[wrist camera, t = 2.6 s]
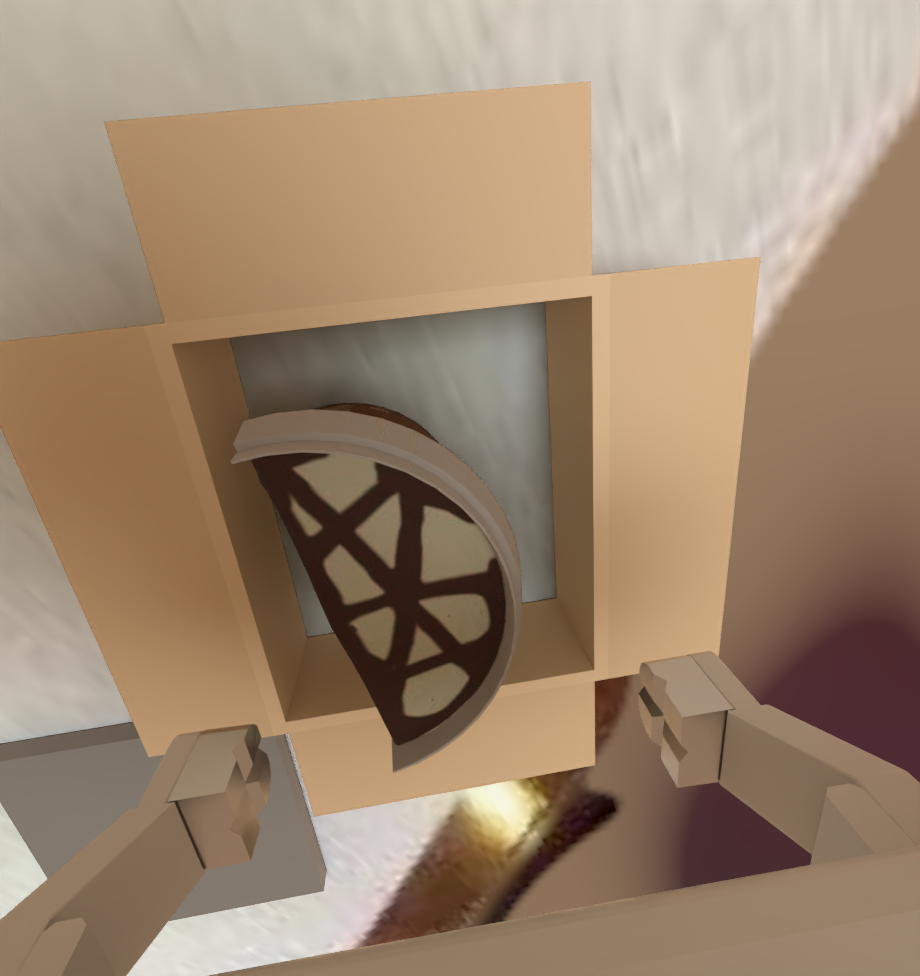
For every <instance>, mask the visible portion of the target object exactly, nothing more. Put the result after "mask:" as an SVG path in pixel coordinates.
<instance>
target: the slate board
mask: <svg viewBox="0 0 920 976" xmlns="http://www.w3.org/2000/svg"><path fill="white" fill-rule="evenodd" d="M258 748H259V749H261V750H262V751H264V752H265V753H267V756H268V759H269V762H270V769H271V784H270V793H269V797H268V800H267V804H266V805H265V807H264V808H263V809H262V810H261V811H260V812H259V813H258V814H257V817H258V820H259V823H260V830H259V834H258V837H257V841H256V844H255V848H254V852H253V855H252V859H251V861H248V862H243V863H238V864H234V865H229V866H224V867H219V868H214V869H209V870H204V871H205V874H204V875H203V876H202V878H201V879H200V880H199V882H198V883H197V884H196V886H195V887H194V888H193V889H192V891H191V892H190V893H189V895H188V896H187V897H186V899H185V900H184V901H183V902H182V904H181V905H180V906H179V908H178V909H177V910H176V911H175V913H174V914H173V915H172V917H171V918H170V919H169V921H172V920H177V919H182V918H187V917H192V916H197V915H203V914H208V913H213V912H218V911H223V910H228V909H233V908H239V907H244V906H249V905H254V904H259V903H264V902H269V901H275V900H280V899H285V898H290V897H295V896H300V895H306V894H311V893H316V892H321V891H324V885H325V877H326V868H325V864H324V861H323V858H322V855H321V851H320V848H319V845H318V842H317V838H316V835H315V832H314V829H313V825H312V822H311V819H310V815H309V812H308V809H307V806H306V802H305V799H304V796H303V793H302V789H301V786H300V783H299V780H298V776H297V773H296V770H295V767H294V763H293V760H292V757H291V754H290V750H289V747H288V744H287V741H286V737H285V734H282V735H276V736H270V737H264V738H261V741H260V744H259V747H258ZM163 757H164V755H159V756H153V757H148V754H147V752H146V750H145V748H144V745H143V743H142V741H141V739H140V737H139V734H138V732H137V730H136V728H135V725H134V723H133V722H132V723H126V724H120V725H114V726H108V727H102V728H96V729H90V730H84V731H78V732H72V733H66V734H60V735H54V736H47V737H41V738H35V739H29V740H23V741H17V742H11V743H5V744H0V803H1V804H2V806H3V807H4V809H5V811H6V812H7V814H8V815H9V817H10V819H11V820H12V822H13V823H14V825H15V827H16V828H17V830H18V832H19V833H20V835H21V836H22V838H23V840H24V841H25V843H26V844H27V846H28V848H29V849H30V851H31V852H32V854H33V856H34V857H35V859H36V860H37V862H38V864H39V865H40V867H41V868H42V870H43V872H44V873H45V875H46V876H47V878H50V877H51V876H52V875H53V874H54V873H55V872H57V871H58V870H59V869H60V868H61V867H62V866H64V865H65V864H66V863H67V862H68V861H69V860H70V859H72V858H73V857H74V856H75V855H76V854H77V853H79V852H80V851H81V850H82V849H83V848H84V847H86V846H87V845H88V844H89V843H90V842H91V841H92V840H94V839H95V838H96V837H97V836H98V835H99V834H101V833H102V832H103V831H104V830H105V829H106V828H108V827H109V826H110V825H111V824H112V823H113V822H115V821H116V820H117V819H118V818H119V817H120V816H121V815H123V814H124V813H125V812H126V811H127V810H129V809H134V808H137V806H138V804H139V802H140V800H141V798H142V797H143V795H144V793H145V791H146V789H147V787H148V785H149V783H150V781H151V780H152V778H153V776H154V774H155V772H156V770H157V768H158V766H159V764H160V763H161V761H162V759H163Z"/></svg>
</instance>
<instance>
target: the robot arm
mask: <svg viewBox="0 0 920 976" xmlns="http://www.w3.org/2000/svg"><path fill="white" fill-rule="evenodd" d="M639 678H640V680H641V681H642V683H643V684H644V688H643V689H642V690H641V692H640V693H639V710H640V714H641V719H642V722H643V725H644V727H645V730H646V732H647V734H648V736H649V737H650V739H651V741H653V742H655V743H656V744H658V745H659V746H661V747H662V754H661V759H662V761H663V763H664V765H665V766H666V768H667V770H668V771H669V773H670V775H671V777H672V779H673V781H674V782H675V784H676V786H677V787H678V788H679V787H685V786H692V785H700V784H707V783H714V782H720V785H722V786H723V787H724V788H726V789H727V790H728V791H729V792H731V793H732V794H734V795H735V796H736V797H737V798H738V799H740V800H741V801H743V802H744V803H745V804H746V805H748V806H749V807H751V808H752V809H753V810H754V811H756V812H757V813H758V814H759V815H761V816H762V817H763V818H765V819H766V820H767V821H769V822H770V823H771V824H773V825H774V826H775V827H776V828H778V829H779V830H781V831H782V832H783V833H784V834H786V835H787V836H788V837H790V838H791V839H792V840H793V841H795V842H796V843H797V844H799V845H800V846H801V847H803V848H804V849H805V850H807V851H808V852H809V853H811V854H812V860H811V864H810V865H808V866H802V867H797V868H792V869H787V870H781V871H776V872H770V873H764V874H759V875H753V876H748V877H742V878H737V879H732V880H726V881H721V882H715V883H710V884H705V885H699V886H693V887H688V888H683V889H678V890H672V891H667V892H661V893H656V894H651V895H645V896H639V897H634V898H629V899H624V900H618V901H612V902H607V903H602V904H597V905H591V906H585V907H580V908H575V909H570V910H564V911H559V912H553V913H548V914H542V915H538V916H532V917H526V918H521V919H515V920H510V921H504V922H499V923H493V924H488V925H482V926H477V927H471V928H466V929H460V930H455V931H449V932H444V933H438V934H433V935H427V936H422V937H416V938H411V939H405V940H400V941H394V942H389V943H383V944H378V945H372V946H367V947H362V948H356V949H351V950H345V951H340V952H334V953H329V954H323V955H318V956H313V957H307V958H302V959H296V960H291V961H285V962H280V963H274V964H269V965H263V966H258V967H253V968H247V969H242V970H236V971H231V972H225V973H220V974H214V975H209V976H920V783H919V782H918V781H917V780H915V779H914V778H913V777H912V776H911V775H910V774H909V773H908V772H907V771H905V770H903V769H901V768H898V767H897V766H894V765H892V764H890V763H888V762H886V761H884V760H882V759H880V758H878V757H876V756H874V755H872V754H870V753H867V752H865V751H863V750H861V749H859V748H857V747H855V746H853V745H851V744H849V743H847V742H845V741H842V740H840V739H838V738H836V737H834V736H832V735H830V734H828V733H826V732H824V731H822V730H820V729H818V728H816V727H813V726H811V725H809V724H807V723H805V722H803V721H801V720H799V719H797V718H795V717H793V716H791V715H788V714H786V713H784V712H782V711H780V710H778V709H776V708H774V707H772V706H770V705H762V706H761V705H760V704H759V703H758V702H757V701H756V699H755V698H754V697H753V696H752V695H751V694H750V693H749V692H748V690H747V689H746V688H745V687H744V686H743V685H742V684H741V682H740V681H739V680H738V679H737V678H736V677H735V676H734V674H733V673H732V672H731V671H730V670H729V669H728V668H727V667H726V665H725V664H724V663H723V662H722V661H721V660H720V659H719V657H718V656H717V655H716V654H715V653H713V652H711V651H705V652H699V653H694V654H688V655H683V656H677V657H671V658H665V659H659V660H653V661H647V662H642V663H641V666H640V670H639ZM261 738H262V737H261V734H260V732H259V729H258V727H257V725H255V724H247V725H239V726H232V727H224V728H217V729H209V730H204V731H199V732H191V733H183V734H179V735H178V736H176V737H175V738H174V739H173V740H172V742H171V744H170V746H169V747H168V749H167V751H166V753H165V755H164V757H163V759H162V761H161V763H160V764H159V766H158V768H157V770H156V772H155V774H154V776H153V778H152V780H151V781H150V783H149V785H148V787H147V789H146V791H145V793H144V795H143V797H142V798H141V800H140V802H139V804H138V806H137V808H134V809H129V810H127V811H126V812H125V813H124V814H123V815H121V816H120V817H119V818H118V819H117V820H116V821H115V822H113V823H112V824H111V825H110V826H109V827H108V828H106V829H105V830H104V831H103V832H102V833H101V834H99V835H98V836H97V837H96V838H95V839H94V840H92V841H91V842H90V843H89V844H88V845H87V846H86V847H84V848H83V849H82V850H81V851H80V852H79V853H77V854H76V855H75V856H74V857H73V858H72V859H70V860H69V861H68V862H67V863H66V864H65V865H64V866H62V867H61V868H60V869H59V870H58V871H57V872H55V873H54V874H53V875H52V876H51V877H50V878H48V879H47V880H46V881H45V882H44V883H43V884H41V885H40V886H39V887H38V888H37V889H36V890H35V891H33V892H32V893H31V894H30V895H29V896H28V897H26V898H25V899H24V900H23V901H22V902H21V903H19V904H18V905H17V906H16V907H15V908H14V909H13V910H11V911H10V912H9V913H8V914H7V915H6V916H4V917H3V918H2V919H1V920H0V976H126V975H127V974H128V973H129V971H130V970H131V969H132V967H133V966H134V965H135V963H136V962H137V961H138V960H139V958H140V957H141V956H142V954H143V953H144V952H145V950H146V949H147V948H148V947H149V945H150V944H151V943H152V941H153V940H154V939H155V937H156V936H157V935H158V934H159V932H160V931H161V930H162V928H163V927H164V926H165V924H166V923H167V922H168V921H169V919H170V918H171V917H172V915H173V914H174V913H175V911H176V910H177V909H178V908H179V906H180V905H181V904H182V902H183V901H184V900H185V899H186V897H187V896H188V895H189V893H190V892H191V891H192V889H193V888H194V887H195V886H196V884H197V883H198V882H199V880H200V879H201V878H202V876H203V875H204V874H205V871H204V870H209V869H214V868H219V867H224V866H229V865H234V864H238V863H243V862H248V861H251V859H252V855H253V852H254V848H255V844H256V841H257V837H258V834H259V830H260V823H259V820H258V817H257V814H258V813H259V812H260V811H261V810H262V809H263V808H264V807H265V805H266V804H267V800H268V797H269V793H270V784H271V769H270V762H269V759H268V756H267V753H265V752H264V751H262V750H261V749H259V748H258V747H259V744H260V741H261Z"/></svg>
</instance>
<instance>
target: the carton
mask: <svg viewBox="0 0 920 976" xmlns="http://www.w3.org/2000/svg"><path fill="white" fill-rule="evenodd" d="M104 123H105V126H106V130H107V133H108V136H109V139H110V143H111V146H112V149H113V153H114V156H115V159H116V163H117V166H118V169H119V173H120V176H121V179H122V182H123V186H124V189H125V192H126V196H127V199H128V202H129V206H130V209H131V212H132V216H133V219H134V222H135V225H136V229H137V232H138V235H139V239H140V242H141V245H142V249H143V252H144V255H145V259H146V262H147V265H148V268H149V272H150V275H151V278H152V282H153V285H154V288H155V292H156V295H157V298H158V302H159V305H160V308H161V311H162V315H163V318H164V321H165V323H159V324H152V325H143V326H134V327H125V328H116V329H107V330H98V331H89V332H80V333H71V334H62V335H53V336H44V337H35V338H26V339H17V340H8V341H0V427H1V429H2V431H3V433H4V435H5V438H6V440H7V442H8V444H9V447H10V449H11V451H12V453H13V456H14V458H15V460H16V462H17V464H18V467H19V469H20V471H21V473H22V476H23V478H24V480H25V482H26V485H27V487H28V489H29V491H30V493H31V496H32V498H33V500H34V502H35V505H36V507H37V509H38V511H39V513H40V516H41V518H42V520H43V522H44V525H45V527H46V529H47V531H48V534H49V536H50V538H51V540H52V542H53V545H54V547H55V549H56V551H57V554H58V556H59V558H60V560H61V563H62V565H63V567H64V569H65V571H66V574H67V576H68V578H69V580H70V583H71V585H72V587H73V589H74V592H75V594H76V596H77V598H78V600H79V603H80V605H81V607H82V609H83V612H84V614H85V616H86V618H87V621H88V623H89V625H90V627H91V629H92V632H93V634H94V636H95V638H96V641H97V643H98V645H99V647H100V650H101V652H102V654H103V656H104V658H105V661H106V663H107V665H108V667H109V670H110V672H111V674H112V676H113V679H114V681H115V683H116V685H117V687H118V690H119V692H120V694H121V696H122V699H123V701H124V703H125V705H126V708H127V710H128V712H129V714H130V716H131V719H132V721H133V723H134V725H135V728H136V730H137V732H138V734H139V737H140V739H141V741H142V743H143V745H144V748H145V750H146V752H147V754H148V757H153V756H159V755H165V753H166V751H167V749H168V747H169V746H170V744H171V742H172V740H173V739H174V738H175V737H176V736H178V735H179V734H183V733H191V732H199V731H204V730H209V729H217V728H224V727H232V726H239V725H247V724H255V725H257V727H258V729H259V732H260V734H261V737H262V738H264V737H270V736H276V735H282V734H288V733H289V735H290V738H291V741H292V745H293V748H294V751H295V755H296V758H297V761H298V765H299V768H300V771H301V775H302V778H303V781H304V784H305V788H306V791H307V794H308V798H309V801H310V804H311V808H312V811H313V814H314V817H315V816H320V815H326V814H331V813H336V812H342V811H347V810H353V809H358V808H364V807H369V806H375V805H380V804H386V803H391V802H396V801H402V800H407V799H413V798H418V797H424V796H429V795H435V794H440V793H446V792H451V791H456V790H462V789H467V788H473V787H478V786H484V785H489V784H495V783H500V782H506V781H511V780H516V779H522V778H527V777H533V776H538V775H544V774H549V773H555V772H560V771H566V770H571V769H576V768H582V767H587V766H593V765H595V682H594V681H598V680H603V679H609V678H615V677H621V676H627V675H633V674H639V670H640V666H641V663H642V662H647V661H653V660H659V659H665V658H671V657H677V656H683V655H688V654H694V653H699V652H705V651H711V652H713V653H715V654H716V655H717V656H719V646H720V637H721V627H722V619H723V609H724V599H725V590H726V581H727V571H728V562H729V552H730V542H731V533H732V524H733V514H734V504H735V495H736V485H737V476H738V466H739V456H740V448H741V438H742V429H743V419H744V410H745V399H746V391H747V381H748V372H749V362H750V353H751V343H752V334H753V324H754V315H755V305H756V296H757V286H758V277H759V267H760V258H761V257H754V258H745V259H736V260H727V261H718V262H709V263H700V264H691V265H682V266H673V267H664V268H655V269H646V270H637V271H628V272H619V273H610V274H600V275H592V215H591V81H590V82H578V83H566V84H554V85H542V86H529V87H517V88H505V89H493V90H481V91H469V92H457V93H445V94H433V95H421V96H409V97H396V98H384V99H372V100H360V101H348V102H336V103H324V104H312V105H300V106H288V107H276V108H264V109H251V110H239V111H227V112H215V113H203V114H191V115H179V116H167V117H155V118H143V119H131V120H118V121H106V122H104ZM544 301H545V311H546V337H547V363H548V389H549V415H550V441H551V467H552V493H553V519H554V545H555V571H556V597H557V598H555V599H548V600H542V601H536V602H529V603H523V604H522V618H521V624H520V631H519V637H518V641H517V644H516V647H515V650H514V653H513V656H512V659H511V662H510V665H509V668H508V671H507V674H506V677H505V679H504V681H503V682H502V684H501V686H500V688H499V690H498V692H497V694H496V696H495V697H494V699H493V700H492V702H491V703H490V704H489V706H488V707H487V708H486V709H485V711H484V712H483V713H482V715H481V716H480V717H479V718H478V719H477V720H476V721H475V722H474V723H473V724H472V725H471V726H470V727H469V728H468V729H467V730H466V731H465V732H464V733H463V734H462V735H461V736H460V737H459V738H457V739H456V740H454V741H453V742H452V743H450V744H449V745H448V746H446V747H445V748H444V749H442V750H441V751H439V752H438V753H436V754H434V755H432V756H431V757H429V758H427V759H425V760H423V761H422V762H420V763H418V764H416V765H413V766H411V767H409V768H406V769H404V770H401V771H399V772H396V773H393V762H392V737H391V735H390V733H389V731H388V729H387V727H386V725H385V724H384V722H383V720H382V718H381V716H380V714H379V712H378V710H377V708H376V706H375V704H374V702H373V700H372V698H371V696H370V694H369V692H368V690H367V688H366V686H365V684H364V682H363V681H362V679H361V677H360V675H359V674H358V672H357V670H356V668H355V666H354V665H353V663H352V661H351V659H350V658H349V656H348V655H347V653H346V651H345V650H344V648H343V647H342V645H341V643H340V641H339V640H338V638H337V636H336V635H335V633H333V634H327V635H320V636H314V637H308V638H307V634H306V631H305V627H304V623H303V619H302V615H301V611H300V607H299V604H298V600H297V596H296V592H295V588H294V584H293V581H292V577H291V573H290V569H289V565H288V561H287V558H286V554H285V550H284V546H283V542H282V538H281V535H280V531H279V527H278V523H277V519H276V515H275V511H274V508H273V504H272V500H271V498H270V496H269V494H268V492H267V491H266V490H265V488H264V487H263V486H262V484H261V483H260V480H259V477H258V474H257V472H256V470H255V468H254V466H253V464H252V462H251V460H247V461H243V462H239V463H235V464H231V462H230V461H231V460H232V458H233V457H234V456H235V455H236V453H237V450H236V449H235V447H234V445H233V443H234V441H235V439H236V437H237V434H238V432H239V430H240V428H241V425H242V423H243V421H245V420H249V419H250V416H249V412H248V408H247V404H246V400H245V396H244V392H243V389H242V385H241V381H240V377H239V373H238V369H237V366H236V362H235V358H234V354H233V350H232V346H231V343H230V339H229V337H238V336H246V335H255V334H264V333H273V332H281V331H290V330H299V329H308V328H316V327H325V326H334V325H343V324H351V323H360V322H369V321H378V320H386V319H395V318H404V317H413V316H421V315H430V314H439V313H448V312H456V311H465V310H474V309H483V308H491V307H500V306H509V305H518V304H526V303H535V302H544Z"/></svg>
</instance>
